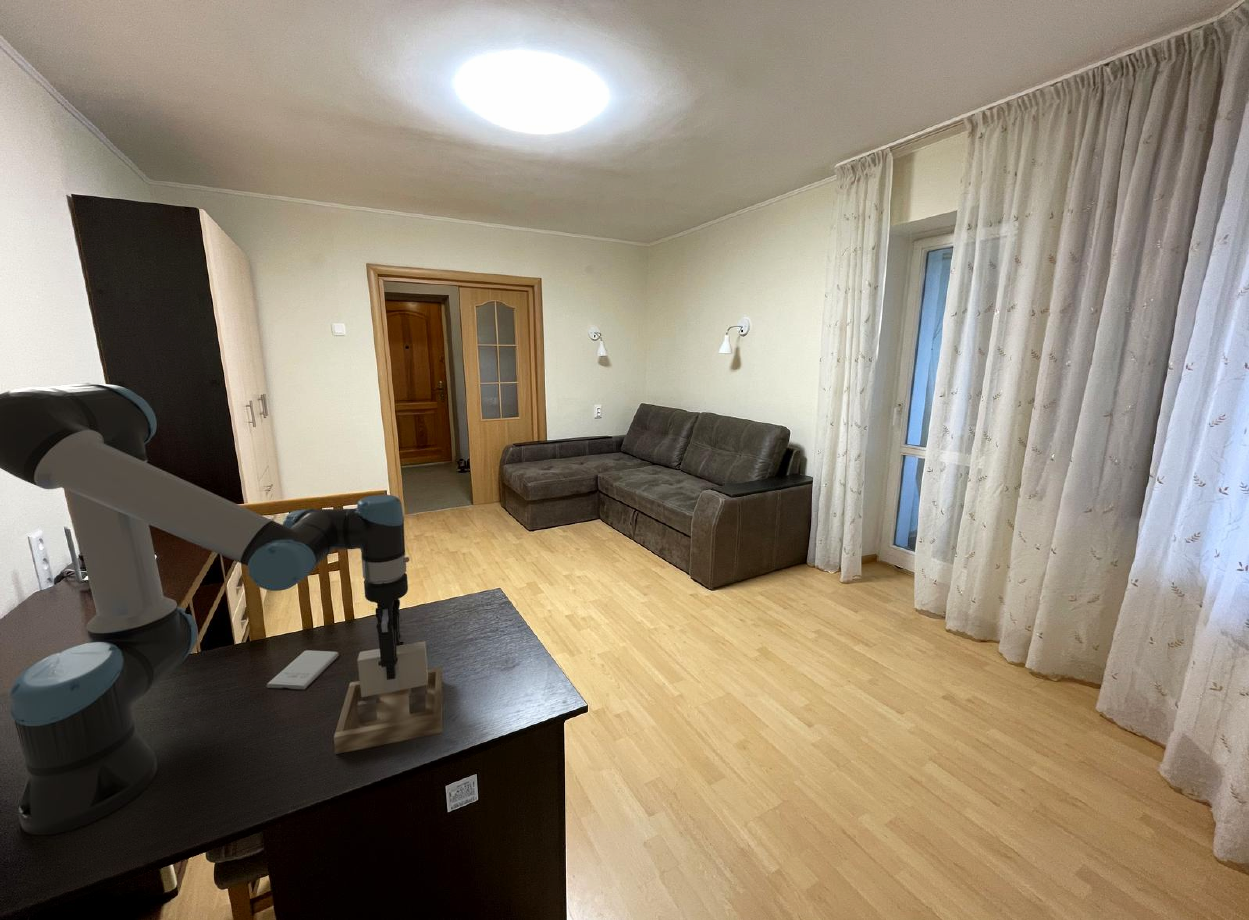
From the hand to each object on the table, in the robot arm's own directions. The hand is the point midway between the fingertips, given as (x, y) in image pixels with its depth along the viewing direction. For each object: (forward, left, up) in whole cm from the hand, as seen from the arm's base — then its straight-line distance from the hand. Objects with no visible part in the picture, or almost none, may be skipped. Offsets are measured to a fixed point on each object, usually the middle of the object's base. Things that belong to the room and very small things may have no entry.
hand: (393, 684), depth 100 cm
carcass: (0, -1, -6) cm, 6 cm away
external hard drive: (-21, +20, -7) cm, 29 cm away
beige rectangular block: (0, 0, -1) cm, 1 cm away
